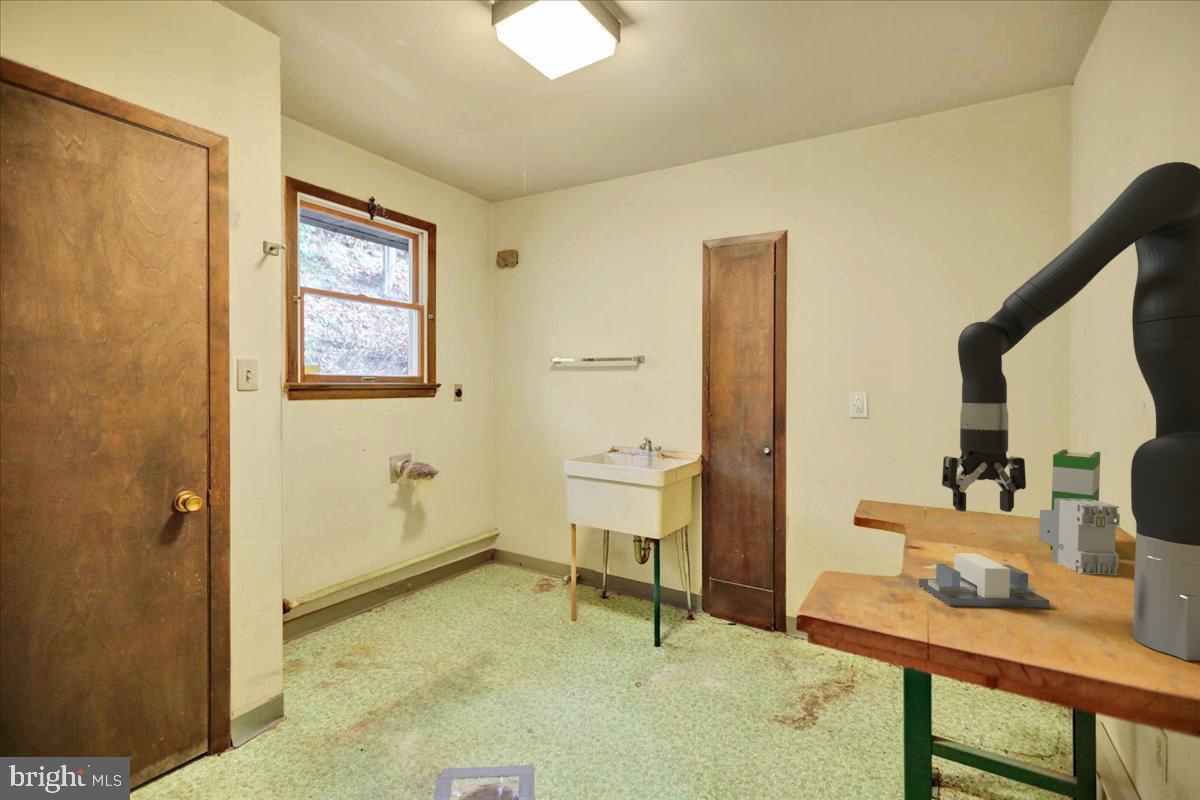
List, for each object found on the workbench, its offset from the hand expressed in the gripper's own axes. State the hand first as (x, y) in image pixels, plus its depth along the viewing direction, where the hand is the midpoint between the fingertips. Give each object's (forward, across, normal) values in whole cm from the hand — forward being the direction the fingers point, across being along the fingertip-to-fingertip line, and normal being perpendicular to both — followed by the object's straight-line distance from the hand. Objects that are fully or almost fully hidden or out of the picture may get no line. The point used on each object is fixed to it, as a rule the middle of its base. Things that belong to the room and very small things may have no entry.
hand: (983, 510), depth 102 cm
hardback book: (+17, +47, +35) cm, 61 cm away
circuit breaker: (+17, +35, +21) cm, 44 cm away
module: (+15, 0, 0) cm, 15 cm away
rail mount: (+17, 0, 0) cm, 17 cm away
